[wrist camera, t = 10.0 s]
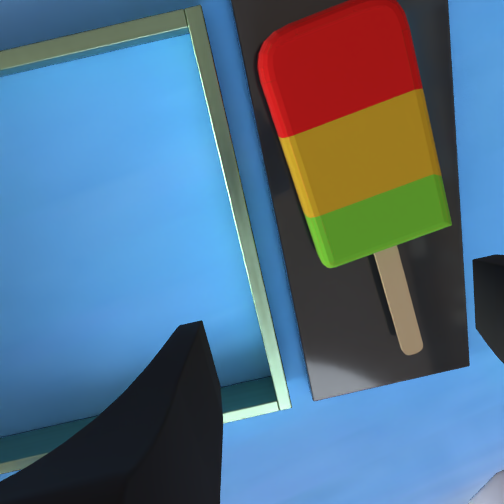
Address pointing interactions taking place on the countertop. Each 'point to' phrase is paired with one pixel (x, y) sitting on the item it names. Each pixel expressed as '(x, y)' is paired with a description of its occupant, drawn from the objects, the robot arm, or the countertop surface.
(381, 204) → the popsicle
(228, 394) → the baking frame
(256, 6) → the slate board
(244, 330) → the countertop surface
